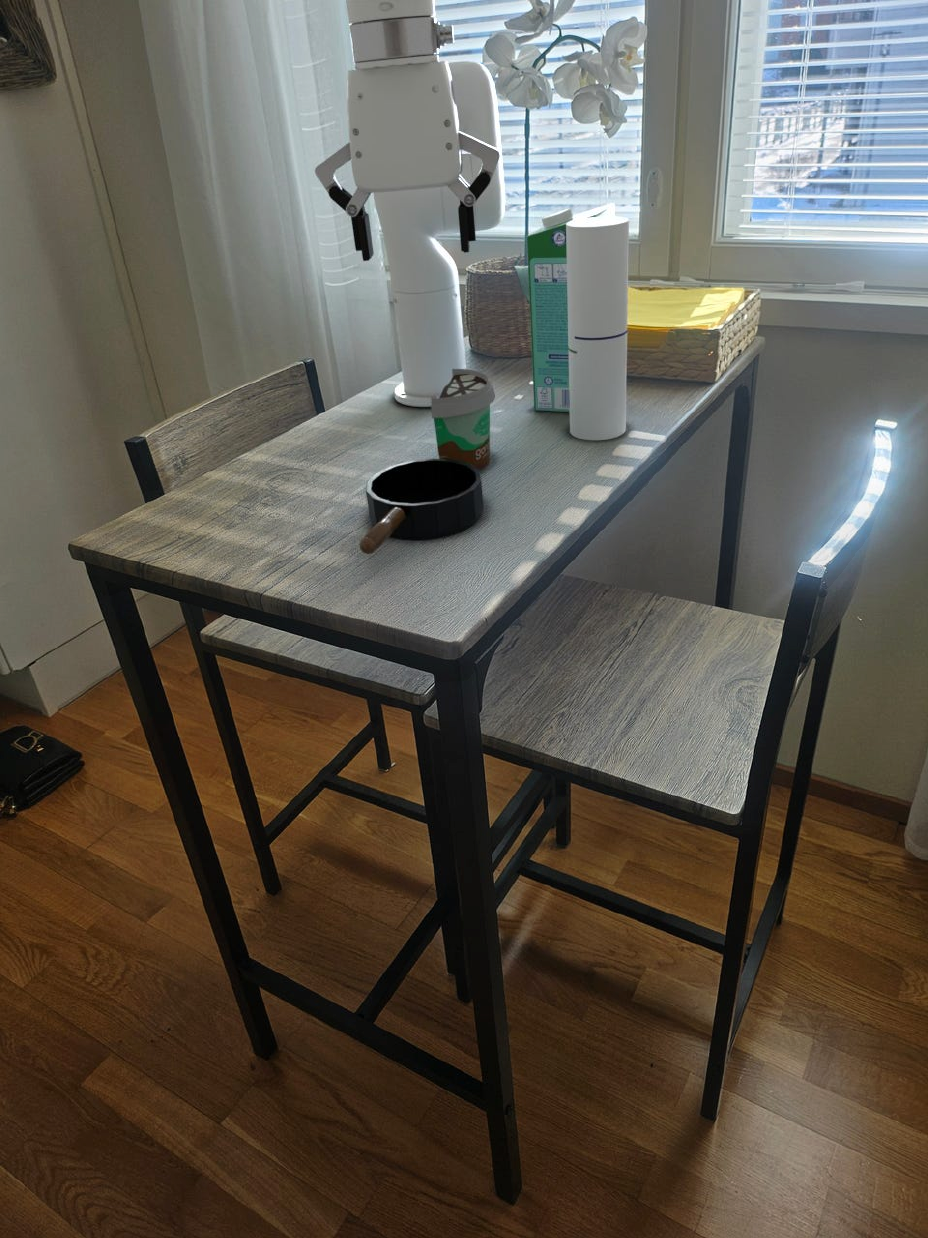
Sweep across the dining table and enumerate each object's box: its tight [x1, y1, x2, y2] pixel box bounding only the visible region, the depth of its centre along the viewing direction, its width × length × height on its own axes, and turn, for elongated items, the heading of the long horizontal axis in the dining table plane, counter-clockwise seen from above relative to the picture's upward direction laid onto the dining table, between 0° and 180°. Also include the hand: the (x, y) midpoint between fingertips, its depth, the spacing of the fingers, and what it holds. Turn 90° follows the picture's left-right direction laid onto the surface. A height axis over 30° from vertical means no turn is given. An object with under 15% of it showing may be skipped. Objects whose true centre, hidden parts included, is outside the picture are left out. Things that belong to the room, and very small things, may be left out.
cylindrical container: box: [566, 215, 630, 441], centre depth 107 cm, size 7×7×25 cm
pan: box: [359, 458, 485, 555], centre depth 92 cm, size 21×12×4 cm, turn 159°
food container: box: [430, 368, 496, 471], centre depth 106 cm, size 12×6×10 cm, turn 168°
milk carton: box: [526, 203, 615, 413], centre depth 118 cm, size 9×9×25 cm
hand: (416, 253), depth 86 cm, fingers open, 9 cm apart
